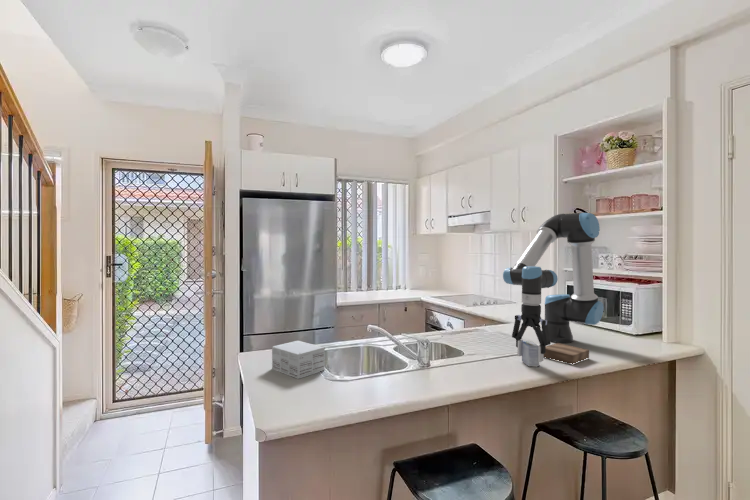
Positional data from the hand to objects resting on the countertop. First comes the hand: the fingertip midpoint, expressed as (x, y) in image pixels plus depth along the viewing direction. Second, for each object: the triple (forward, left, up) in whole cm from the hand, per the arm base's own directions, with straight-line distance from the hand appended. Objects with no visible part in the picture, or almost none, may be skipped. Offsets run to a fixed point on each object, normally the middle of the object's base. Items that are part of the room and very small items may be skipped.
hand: (530, 358), depth 163 cm
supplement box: (+81, -49, -3) cm, 95 cm away
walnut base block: (-20, +4, -2) cm, 21 cm away
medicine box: (0, 0, -3) cm, 3 cm away
